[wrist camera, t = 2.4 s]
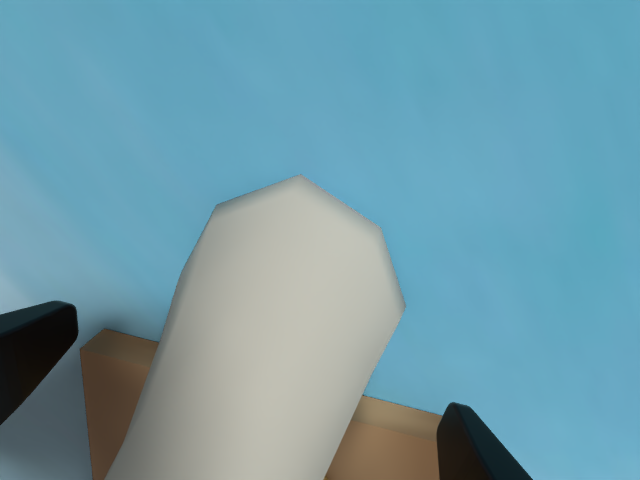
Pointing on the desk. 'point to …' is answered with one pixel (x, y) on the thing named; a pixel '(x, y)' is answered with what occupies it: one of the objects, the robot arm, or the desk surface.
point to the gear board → (348, 462)
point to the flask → (265, 342)
